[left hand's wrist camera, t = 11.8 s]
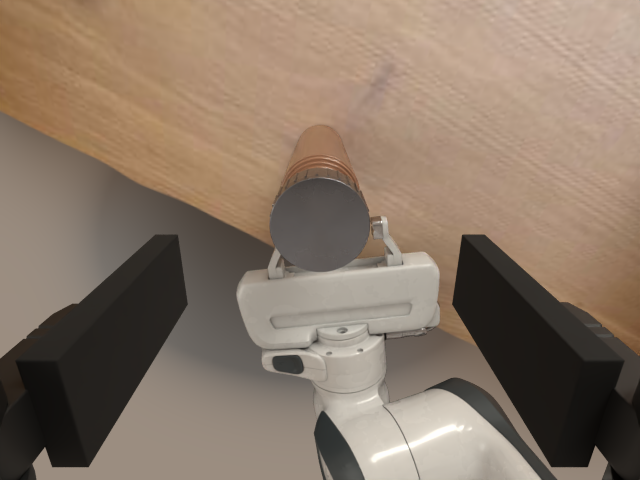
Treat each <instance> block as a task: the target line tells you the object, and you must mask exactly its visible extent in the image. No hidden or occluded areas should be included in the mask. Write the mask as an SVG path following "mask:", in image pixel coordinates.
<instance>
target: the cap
mask: <svg viewBox="0 0 640 480" xmlns="http://www.w3.org/2000/svg"><path fill="white" fill-rule="evenodd" d="M272 206H273V209H272V211H271V214H270V233H271V237H272V240H273V243H274V245H275V247H276V249H277V250H278V251H279V253H280V254H281V255H282V256H283V257H284V258H285V259H286V260H287V261H288V262H290V263H291V264H293V265H294V266H296V267H298V268H301V269H303V270H307V271H311V272H328V271H333V270H336V269H339V268H342V267H344V266H345V265H347V264H349V263H350V262H352V261H353V260H354V259H355V258H356V257H357V256H358V255H359V254H360V253H361V251H362V250H363V248H364V246H365V244H366V242H367V240H368V236H369V232H370V217H369V213H368V211H369V209H368V207H367V204H366V202H365V199H364V196H363V194H362V191H360V190H359V189H358V187H357V185H356V183H355V182H353V181H352V180H351V179H350V178H349V177H348V175H347V176H346V175H344V174H342V173H341V172H339V170H337V171H336V170H333V169H329V168H328V167H327V168H318V167H316V168H311V169H306V170H304V171H302V172H299V173H296V174H295V175H294V176H293V177H291V178H290V179H287V182H286V183H285V184H284V185H283V187H282V186H281V188H280V190H279V193H278V195H276V198H275V200H274V203H273V205H272Z"/></svg>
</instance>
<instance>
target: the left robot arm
mask: <svg viewBox="0 0 640 480" xmlns="http://www.w3.org/2000/svg"><path fill="white" fill-rule="evenodd" d="M187 305H188V303H187V296H186V289H185V282H184V275H183V268H182V261H181V254H180V247H179V240H178V235H155V236H153V237H152V238H151V239H150V240H149V241H148V242H147V243H146V244H145V245H143V246H142V247H141V248H140V249H139V250H138V251H137V252H136V253H135V254H133V255H132V256H131V257H130V258H129V259H128V260H127V261H126V262H125V263H123V264H122V265H121V266H120V267H119V268H118V269H117V270H116V271H114V272H113V273H112V274H111V275H110V276H109V277H108V278H107V279H105V280H104V281H103V282H102V283H101V284H100V285H99V286H98V287H97V288H96V289H94V290H93V291H92V292H91V293H90V294H89V295H88V296H87V297H85V298H84V299H83V300H82V301H81V302H80V303H79V304H71V305H69V306H67V307H65V308H63V309H62V310H60V311H58V312H56V313H54V314H52V315H51V316H50V317H49V318H48V319H46V320H45V321H44V322H43V323H42V324H41V325H39V328H38V329H35V330H34V331H32V332H31V333H30V334H29V335H28V336H27V338H26V339H23V340H22V341H21V342H19V343H18V344H17V345H16V346H15V347H13V348H12V349H11V350H10V351H9V352H8V353H6V354H5V355H4V356H3V357H2V358H1V359H0V480H36V475H35V470H34V467H33V465H32V463H33V462H34V461H35V459H36V458H37V457H38V455H39V454H40V453H41V451H42V450H43V449H44V447H45V448H46V450H47V453H48V456H49V459H50V462H51V465H52V467H89V466H90V464H91V462H92V460H93V459H94V457H95V456H96V454H97V452H98V451H99V449H100V447H101V446H102V444H103V442H104V441H105V439H106V438H107V436H108V434H109V433H110V431H111V429H112V428H113V426H114V425H115V423H116V421H117V420H118V418H119V416H120V415H121V413H122V411H123V410H124V408H125V406H126V405H127V403H128V401H129V400H130V398H131V397H132V395H133V393H134V392H135V390H136V388H137V387H138V385H139V383H140V382H141V380H142V379H143V377H144V375H145V373H146V372H147V370H148V369H149V367H150V365H151V364H152V362H153V360H154V359H155V357H156V355H157V354H158V352H159V351H160V349H161V347H162V346H163V344H164V342H165V341H166V339H167V338H168V336H169V334H170V333H171V331H172V329H173V328H174V326H175V324H176V323H177V321H178V319H179V318H180V316H181V314H182V313H183V311H184V310H185V308H186V306H187ZM452 305H453V306H454V308H455V310H456V311H457V313H458V315H459V316H460V318H461V319H462V321H463V323H464V324H465V326H466V328H467V329H468V331H469V333H470V334H471V336H472V338H473V339H474V341H475V342H476V344H477V346H478V347H479V349H480V351H481V352H482V354H483V356H484V357H485V359H486V360H487V362H488V364H489V365H490V367H491V369H492V370H493V372H494V374H495V375H496V377H497V379H498V380H499V382H500V383H501V385H502V387H503V388H504V390H505V392H506V393H507V395H508V397H509V398H510V400H511V401H512V403H513V405H514V406H515V408H516V410H517V411H518V413H519V415H520V416H521V418H522V419H523V421H524V423H525V425H526V426H527V428H528V429H529V431H530V433H531V434H532V436H533V438H534V439H535V441H536V442H537V444H538V446H539V447H540V449H541V451H542V452H543V454H544V456H545V457H546V459H547V461H548V462H549V464H550V466H551V467H588V465H589V462H590V459H591V456H592V453H593V450H594V448H595V445H596V447H597V448H598V449H599V451H600V452H601V453H602V454H603V456H604V457H605V458H606V460H607V461H608V465H607V467H606V470H605V473H604V476H603V478H602V480H640V356H638V355H637V354H636V353H635V352H634V351H632V350H631V349H630V348H629V347H628V346H626V345H625V344H624V343H623V342H622V341H621V340H619V339H618V338H617V337H614V335H613V334H612V333H611V332H610V331H609V330H608V329H606V328H605V327H602V324H600V323H599V322H598V321H597V320H596V319H594V318H593V317H592V316H591V315H590V314H589V313H587V312H585V311H583V310H581V309H579V308H578V307H576V306H574V305H572V304H570V303H568V302H559V301H558V300H557V299H556V298H555V297H553V296H552V295H551V294H550V293H549V292H548V291H547V290H546V289H545V288H543V287H542V286H541V285H540V284H539V283H538V282H537V281H536V280H534V279H533V278H532V277H531V276H530V275H529V274H528V273H527V272H526V271H524V270H523V269H522V268H521V267H520V266H519V265H518V264H517V263H516V262H514V261H513V260H512V259H511V258H510V257H509V256H508V255H507V254H506V253H504V252H503V251H502V250H501V249H500V248H499V247H498V246H497V245H495V244H494V243H493V242H492V241H491V240H490V239H489V238H488V237H487V236H485V235H462V240H461V247H460V254H459V261H458V268H457V275H456V282H455V289H454V296H453V303H452Z"/></svg>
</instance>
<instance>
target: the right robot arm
mask: <svg viewBox="0 0 640 480" xmlns="http://www.w3.org/2000/svg"><path fill="white" fill-rule="evenodd" d="M370 221H371V225H372V226H371V233H372V235H373V239H382V240H383V241H384V242H385V244H386V245H387V246H388V247H385V248H384V255H385V256H377V257H368V258H359V259H354V260H353V261H352V262H350V263H349V264H347V265H345V266H344V267H342V268H339V269H336V270H333V271H328V272H311V271H307V270H303V269H301V268H298V267H296V266H288V267H285V264H284V260H283V259H279V257H280V255H281V254H280V253H279V251H278V250H277V249H276V247H275V249H274V252H273V254H272V257H271V259H270V262H269V265H268V269H261V270H252V271H247V272H246V273H245V274H244V276H243V277H242V279H241V280H240V282H239V284H238V287H237V292H236V296H237V301H238V305H239V309H240V312H241V315H242V318H243V321H244V324H245V326H246V329H247V331H248V334H249V336H250V337H251V339H252V340H253V342H254V343H255V344H257V345H258V346H260V347H261V348H262V364H263V367H264V368H265V369H266V370H268V371H271V372H277V373H283V374H289V375H294V376H299V377H303V378H307V379H310V380H311V382H312V384H313V386H314V394H313V403H314V409H315V414H316V419H317V423H316V427H315V431H314V436H315V442H316V447H317V453H318V459H319V464H320V468H321V472H322V476H323V480H557V479H556V478H555V476H554V475H553V474H552V473H551V472H550V471H549V470H548V468H547V467H546V466H545V465H544V464H543V463H542V462H541V460H540V459H539V458H538V457H537V456H536V455H535V453H534V452H533V451H532V450H531V449H530V448H529V447H528V445H527V444H526V443H525V442H524V441H523V439H522V438H521V437H520V436H519V434H518V433H517V431H516V430H515V428H514V427H513V425H512V423H511V422H510V420H509V419H508V417H507V415H506V414H505V412H504V411H503V409H502V408H501V407H500V405H499V404H498V403H497V401H496V400H495V399H494V398H493V397H492V396H491V395H490V394H489V393H488V392H486V391H485V390H483V389H482V388H480V387H478V386H477V385H475V384H473V383H470V382H468V381H466V380H463V379H460V378H450V379H448V380H446V381H444V382H441V383H439V384H437V385H435V386H432V387H430V388H428V389H426V390H425V391H423V392H421V393H418V394H415V395H412V396H409V397H406V398H403V399H400V400H397V401H394V402H391V403H390V401H389V392H388V388H387V385H386V383H385V380H384V379H385V375H386V371H387V361H386V348H385V340H386V339H396V338H402V337H407V336H423V335H426V334H427V331H430V330H432V329H434V328H435V327H436V326H437V325H438V324H439V322H440V305H439V303H438V301H437V299H438V292H439V279H440V274H439V269H438V266H437V264H436V263H435V261H434V260H433V259H432V258H431V257H430V256H429V255H428V254H427V253H425V252H412V253H404V254H401V252H400V249H399V247H398V245H397V244H396V242H395V241H394V240H393V238H392V237H391V236H390V234H389V233H388V222H387V218H386V216H377V217H370ZM426 327H427V328H426Z"/></svg>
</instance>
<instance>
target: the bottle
mask: <svg viewBox="0 0 640 480" xmlns="http://www.w3.org/2000/svg"><path fill="white" fill-rule="evenodd" d="M316 167H318V168H327V167H328V168H329V169H333V170H336V171H337V170H339V172H341V173H342V174H344V175H346V176H347V175H348V177H349V178H350V179H351V180H352V181H353V182H355V183H356V185H357V187H358V189H359V184H358V181H357V178H356V176H355V173H354V171H353V168H352V166H351V163H350V161H349V158H348V156H347V153H346V151H345V148H344V146H343V143H342V141H341V138H340V136H339V135H338V133H337V132H336V131H335V130H333V129H332V128H330V127H328V126H324V125H315V126H312V127H310V128H308V129H307V130H305V131H304V132H303V133H302V135H301V136H300V138H299V140H298V143H297V145H296V148H295V150H294V153H293V155H292V158H291V160H290V163H289V165H288V168H287V170H286V172H285V175H284V177H283V180H282V183H281V186H282V187H283V185H284V184H285V183H286V182H287V179H290V178H291V177H293V176H294V175H295V174H296V173H299V172H302V171H304V170H306V169H311V168H316Z"/></svg>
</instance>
